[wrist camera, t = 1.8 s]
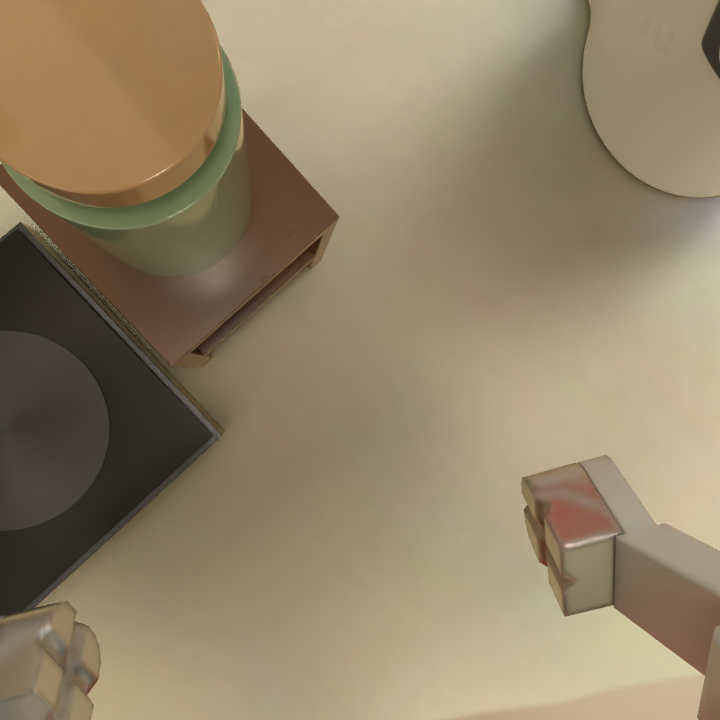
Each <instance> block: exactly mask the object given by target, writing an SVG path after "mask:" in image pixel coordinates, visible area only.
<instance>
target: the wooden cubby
mask: <svg viewBox="0 0 720 720" xmlns="http://www.w3.org/2000/svg"><path fill="white" fill-rule="evenodd" d="M242 115H243V122H244V130H245V138H246V146H247V154H248V162H249V170H250V178H251V185H252V210H251V215H250V219H249V223H248V225H247V228H246V230H245V232H244V234H243V236H242V238H241V239H240V241H239V242H238V244H237V245H236V246H235V248H234V249H233V250H232V251H231V252H230V253H229V254H228V255H227V256H226V257H225V258H224V259H222V260H221V261H220V262H218V263H217V264H215V265H213V266H212V267H210V268H208V269H206V270H203V271H201V272H198V273H195V274H191V275H187V276H179V277H163V276H155V275H151V274H147V273H143V272H141V271H138V270H136V269H133V268H132V267H130V266H128V265H126V264H124V263H123V262H121V261H120V260H119V259H117V258H116V257H114V256H113V255H111V254H110V253H108V252H107V251H106V250H104V249H103V248H101V247H100V246H98V245H97V244H96V243H94V242H93V241H91V240H90V239H88V238H87V237H86V236H84V235H83V234H81V233H80V232H78V231H77V230H75V229H74V228H73V227H71V226H70V225H68V224H67V223H65V222H64V221H63V220H61V219H60V218H58V217H57V216H55V215H54V214H53V213H51V212H50V211H48V210H47V209H45V208H44V207H43V206H41V205H40V204H38V203H37V202H36V201H34V200H33V199H32V198H31V197H30V196H28V195H27V194H26V193H25V192H24V191H23V190H22V189H21V188H20V187H19V186H18V185H17V183H16V182H15V181H14V180H13V179H12V177H11V176H10V175H9V174H8V172H7V170H6V169H5V167H4V166H3V164H1V165H0V186H1V187H2V188H3V189H4V190H5V191H6V192H7V193H8V194H9V195H10V196H11V197H12V198H13V199H14V200H15V201H16V203H17V204H18V205H19V206H20V207H21V208H22V209H23V210H24V211H25V212H26V213H27V214H28V215H29V216H30V217H31V218H32V220H33V221H34V222H35V223H36V224H37V225H38V226H39V227H40V228H41V229H42V230H43V231H44V232H45V233H46V234H47V235H48V236H49V238H50V239H51V240H52V241H53V242H54V243H55V244H56V245H57V246H58V247H59V248H60V249H61V250H62V251H63V252H64V253H65V254H66V256H67V257H68V258H69V259H70V260H71V261H72V262H73V263H74V264H75V265H76V266H77V267H78V268H79V269H80V270H81V271H82V273H83V274H84V275H85V276H86V277H87V278H88V279H89V280H90V281H91V282H92V283H93V284H94V285H95V286H96V287H97V288H98V289H99V291H100V292H101V293H102V294H103V295H104V296H105V297H106V298H107V299H108V300H109V301H110V302H111V303H112V304H113V305H114V306H115V308H116V309H117V310H118V311H119V312H120V313H121V314H122V315H123V316H124V317H125V318H126V319H127V320H128V321H129V322H130V323H131V324H132V326H133V327H134V328H135V329H136V330H137V331H138V332H139V333H140V334H141V335H142V336H143V337H144V338H145V339H146V340H147V341H148V343H149V344H150V345H151V346H152V347H153V348H154V349H155V350H156V351H157V352H158V353H159V354H160V355H161V356H162V357H163V358H164V359H165V361H166V362H167V363H168V364H169V365H170V366H172V367H175V366H190V367H203V366H204V365H205V364H206V363H207V362H209V361H210V360H211V359H212V357H211V355H210V354H209V353H210V352H211V351H212V350H213V349H214V348H215V347H216V346H218V345H219V344H220V343H221V342H222V341H223V340H224V339H225V338H226V337H228V336H229V335H230V334H231V333H232V332H233V331H234V330H235V329H236V328H238V327H239V326H240V325H241V324H242V323H243V322H244V321H245V320H247V319H248V318H249V317H250V316H251V315H252V314H253V313H254V312H255V311H257V310H258V309H259V308H260V307H261V306H262V305H263V304H264V303H265V302H267V301H268V300H269V299H270V298H271V297H272V296H273V295H274V294H276V293H277V292H278V291H279V290H280V289H281V288H282V287H283V286H284V285H286V284H287V283H288V282H289V281H290V280H291V279H292V278H293V277H294V276H296V275H297V274H298V273H299V272H300V271H301V270H302V269H303V268H305V267H306V266H308V267H309V268H310V269H312V268H313V267H314V266H315V265H316V264H318V263H319V262H320V260H321V258H322V256H323V253H324V251H325V249H326V246H327V244H328V242H329V239H330V237H331V235H332V232H333V230H334V227H335V225H336V223H337V221H338V219H339V216H338V215H337V214H336V212H335V211H334V210H333V209H332V208H331V207H330V206H329V205H328V204H327V202H326V201H325V200H324V199H323V198H322V197H321V196H320V195H319V193H318V192H317V191H316V190H315V189H314V188H313V187H312V186H311V185H310V183H309V182H308V181H307V180H306V179H305V178H304V177H303V176H302V174H301V173H300V172H299V171H298V170H297V169H296V168H295V167H294V166H293V164H292V163H291V162H290V161H289V160H288V159H287V158H286V157H285V155H284V154H283V153H282V152H281V151H280V150H279V149H278V148H277V147H276V145H275V144H274V143H273V142H272V141H271V140H270V139H269V138H268V137H267V135H266V134H265V133H264V132H263V131H262V130H261V129H260V128H259V126H258V125H257V124H256V123H255V122H254V121H253V120H252V119H251V118H250V116H249V115H248V114H247V113H246V112H245V111H244V110H243V109H242Z"/></svg>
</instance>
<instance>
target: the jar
mask: <svg viewBox="0 0 720 720" xmlns="http://www.w3.org/2000/svg"><path fill="white" fill-rule="evenodd" d="M0 161H1V162H2V164H3V166H4V167H5V169H6V170H7V172H8V174H9V175H10V176H11V177H12V179H13V180H14V181H15V182H16V183H17V185H18V186H19V187H20V188H21V189H22V190H23V191H24V192H25V193H26V194H27V195H28V196H30V197H31V198H32V199H33V200H34V201H36V202H37V203H38V204H40V205H41V206H43V207H44V208H45V209H47V210H48V211H50V212H51V213H53V214H54V215H55V216H57V217H58V218H60V219H61V220H63V221H64V222H65V223H67V224H68V225H70V226H71V227H73V228H74V229H75V230H77V231H78V232H80V233H81V234H83V235H84V236H86V237H87V238H88V239H90V240H91V241H93V242H94V243H96V244H97V245H98V246H100V247H101V248H103V249H104V250H106V251H107V252H108V253H110V254H111V255H113V256H114V257H116V258H117V259H119V260H120V261H121V262H123V263H124V264H126V265H128V266H130V267H132V268H133V269H136V270H138V271H141V272H143V273H147V274H151V275H155V276H163V277H179V276H187V275H191V274H195V273H198V272H201V271H203V270H206V269H208V268H210V267H212V266H213V265H215V264H217V263H218V262H220V261H221V260H222V259H224V258H225V257H226V256H227V255H228V254H229V253H230V252H231V251H232V250H233V249H234V248H235V246H236V245H237V244H238V242H239V241H240V239H241V238H242V236H243V234H244V232H245V230H246V228H247V225H248V223H249V219H250V215H251V210H252V185H251V178H250V170H249V162H248V154H247V146H246V138H245V130H244V122H243V115H242V107H241V99H240V93H239V87H238V83H237V80H236V76H235V73H234V70H233V68H232V66H231V63H230V61H229V59H228V57H227V55H226V53H225V52H224V50H223V48H222V47H221V45H220V43H219V40H218V37H217V33H216V30H215V27H214V25H213V23H212V21H211V18H210V16H209V14H208V12H207V10H206V9H205V7H204V5H203V4H202V2H201V0H0Z"/></svg>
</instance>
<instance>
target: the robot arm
mask: <svg viewBox="0 0 720 720" xmlns="http://www.w3.org/2000/svg"><path fill="white" fill-rule="evenodd" d="M589 6H590V11H591V19H590V26H589V31H588V35H587V39H586V44H585V48H584V54H583V63H582V80H583V90H584V96H585V101H586V105H587V109H588V112H589V115H590V118H591V120H592V122H593V125H594V127H595V129H596V131H597V133H598V135H599V137H600V138H601V140H602V142H603V143H604V145H605V146H606V148H607V149H608V150H609V152H610V153H611V154H612V155H613V157H614V158H615V159H616V160H617V161H618V162H619V163H620V164H621V165H622V166H623V167H624V168H625V169H626V170H628V171H629V172H630V173H631V174H632V175H634V176H635V177H637V178H638V179H640V180H641V181H643V182H644V183H646V184H648V185H650V186H652V187H654V188H656V189H659V190H661V191H664V192H667V193H670V194H674V195H678V196H684V197H693V198H704V197H714V196H720V0H589ZM521 487H522V494H523V496H524V498H525V500H526V502H527V504H528V505H527V506H526V507H525V509H524V516H525V523H526V527H527V531H528V535H529V538H530V541H531V544H532V546H533V549H534V551H535V553H536V556H537V558H538V560H539V562H541V563H542V564H544V565H545V566H547V567H548V576H549V584H550V586H551V588H552V591H553V593H554V595H555V597H556V599H557V601H558V603H559V605H560V608H561V610H562V612H563V614H564V616H569V615H574V614H578V613H582V612H586V611H590V610H594V609H599V608H603V607H607V606H611V605H614V608H615V609H617V610H618V611H619V612H621V613H622V614H623V615H625V616H626V617H627V618H629V619H630V620H631V621H633V622H634V623H635V624H637V625H638V626H639V627H641V628H642V629H643V630H645V631H646V632H647V633H649V634H650V635H651V636H653V637H654V638H655V639H657V640H658V641H659V642H661V643H662V644H663V645H665V646H666V647H667V648H669V649H670V650H671V651H673V652H674V653H675V654H677V655H678V656H679V657H681V658H682V659H683V660H685V661H686V662H687V663H689V664H690V665H691V666H693V667H694V668H695V669H697V670H698V671H699V672H701V673H702V674H703V675H705V679H704V685H703V690H702V695H701V700H700V706H699V711H698V716H697V717H698V719H699V720H720V551H719V550H717V549H715V548H713V547H711V546H709V545H707V544H705V543H703V542H701V541H699V540H697V539H695V538H693V537H691V536H689V535H687V534H685V533H683V532H682V531H680V530H678V529H676V528H674V527H672V526H670V525H668V524H666V523H665V524H660V525H656V523H655V522H654V520H653V519H652V517H651V516H650V514H649V513H648V512H647V510H646V509H645V507H644V506H643V504H642V503H641V501H640V500H639V498H638V497H637V495H636V494H635V493H634V491H633V490H632V488H631V487H630V485H629V484H628V482H627V481H626V479H625V478H624V476H623V475H622V474H621V472H620V471H619V469H618V468H617V466H616V465H615V463H614V462H613V460H612V459H611V458H610V457H608V456H606V455H604V456H601V457H597V458H593V459H589V460H586V461H582V462H578V463H573V464H569V465H566V466H562V467H559V468H555V469H552V470H548V471H545V472H541V473H537V474H534V475H530V476H527V477H523V478H522V481H521ZM76 613H77V611H76V610H75V609H74V608H73V607H72V606H71V605H70V604H69V602H68V601H64V602H58V603H54V604H50V605H46V606H41V607H37V608H33V609H29V610H25V611H21V612H16V613H12V614H8V615H5V616H1V617H0V720H91V717H92V711H93V706H94V705H93V703H92V702H91V700H90V698H89V697H88V695H87V694H88V693H89V691H90V690H91V689H92V687H93V686H94V685H95V683H96V682H97V680H98V678H99V671H100V665H101V660H100V648H99V644H98V641H97V639H96V636H95V634H94V633H93V631H92V630H91V629H90V627H89V626H87V625H84V624H81V623H78V622H75V618H76Z"/></svg>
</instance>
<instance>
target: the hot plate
mask: <svg viewBox="0 0 720 720" xmlns="http://www.w3.org/2000/svg"><path fill="white" fill-rule="evenodd" d="M223 434H224V430H223V429H222V428H221V427H220V426H219V425H218V424H217V423H216V422H215V421H214V420H213V419H212V418H211V417H210V416H209V414H208V413H207V412H206V411H205V410H204V409H203V408H202V407H201V406H200V405H199V404H198V403H197V402H196V401H195V400H194V399H193V398H192V396H191V395H190V394H189V393H188V392H187V391H186V390H185V389H184V388H183V387H182V386H181V385H180V384H179V383H178V382H177V381H176V380H175V378H174V377H173V376H172V375H171V374H170V373H169V372H168V371H167V370H166V369H165V368H164V367H163V366H162V365H161V364H160V363H159V362H158V360H157V359H156V358H155V357H154V356H153V355H152V354H151V353H150V352H149V351H148V350H147V349H146V348H145V347H144V346H143V345H142V344H141V342H140V341H139V340H138V339H137V338H136V337H135V336H134V335H133V334H132V333H131V332H130V331H129V330H128V329H127V328H126V327H125V326H124V324H123V323H122V322H121V321H120V320H119V319H118V318H117V317H116V316H115V315H114V314H113V313H112V312H111V311H110V310H109V309H108V308H107V306H106V305H105V304H104V303H103V302H102V301H101V300H100V299H99V298H98V297H97V296H96V295H95V294H94V293H93V292H92V291H91V290H90V288H89V287H88V286H87V285H86V284H85V283H84V282H83V281H82V280H81V279H80V278H79V277H78V276H77V275H76V274H75V273H74V272H73V270H72V269H71V268H70V267H69V266H68V265H67V264H66V263H65V262H64V261H63V260H62V259H61V258H60V257H59V256H58V255H57V254H56V252H55V251H54V250H53V249H52V248H51V247H50V246H49V245H48V244H47V243H46V242H45V241H44V240H43V239H42V238H41V237H40V236H39V234H38V233H37V232H36V231H35V230H33V229H31V228H30V227H28V226H26V225H25V224H23V223H21V222H20V223H19V224H17V225H16V226H15V227H14V228H13V229H11V230H10V231H9V232H8V233H7V234H5V235H4V236H3V237H2V238H1V239H0V617H1V616H5V615H8V614H12V613H16V612H21V611H25V610H29V609H33V608H34V607H36V606H37V605H38V604H39V603H40V602H41V601H42V600H43V599H44V598H45V597H46V596H48V595H49V594H50V593H51V592H52V591H53V590H54V589H55V588H56V587H57V586H58V585H60V584H61V583H62V582H63V581H64V580H65V579H66V578H67V577H68V576H69V575H70V574H72V573H73V572H74V571H75V570H76V569H77V568H78V567H79V566H80V565H81V564H82V563H84V562H85V561H86V560H87V559H88V558H89V557H90V556H91V555H92V554H93V553H94V552H96V551H97V550H98V549H99V548H100V547H101V546H102V545H103V544H104V543H105V542H106V541H108V540H109V539H110V538H111V537H112V536H113V535H114V534H115V533H116V532H117V531H118V530H120V529H121V528H122V527H123V526H124V525H125V524H126V523H127V522H128V521H129V520H131V519H132V518H133V517H134V516H135V515H136V514H137V513H138V512H139V511H140V510H141V509H143V508H144V507H145V506H146V505H147V504H148V503H149V502H150V501H151V500H152V499H153V498H155V497H156V496H157V495H158V494H159V493H160V492H161V491H162V490H163V489H164V488H165V487H167V486H168V485H169V484H170V483H171V482H172V481H173V480H174V479H175V478H176V477H177V476H179V475H180V474H181V473H182V472H183V471H184V470H185V469H186V468H187V467H188V466H189V465H191V464H192V463H193V462H194V461H195V460H196V459H197V458H198V457H199V456H200V455H201V454H203V453H204V452H205V451H206V450H207V449H208V448H209V447H210V446H211V445H212V444H213V443H215V442H216V441H217V440H218V439H219V438H220V437H221V436H222V435H223Z"/></svg>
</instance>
